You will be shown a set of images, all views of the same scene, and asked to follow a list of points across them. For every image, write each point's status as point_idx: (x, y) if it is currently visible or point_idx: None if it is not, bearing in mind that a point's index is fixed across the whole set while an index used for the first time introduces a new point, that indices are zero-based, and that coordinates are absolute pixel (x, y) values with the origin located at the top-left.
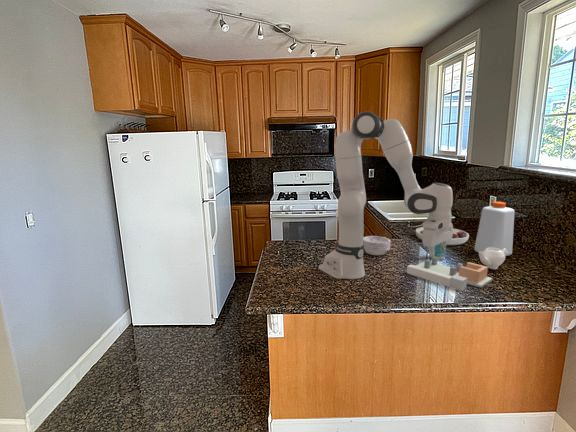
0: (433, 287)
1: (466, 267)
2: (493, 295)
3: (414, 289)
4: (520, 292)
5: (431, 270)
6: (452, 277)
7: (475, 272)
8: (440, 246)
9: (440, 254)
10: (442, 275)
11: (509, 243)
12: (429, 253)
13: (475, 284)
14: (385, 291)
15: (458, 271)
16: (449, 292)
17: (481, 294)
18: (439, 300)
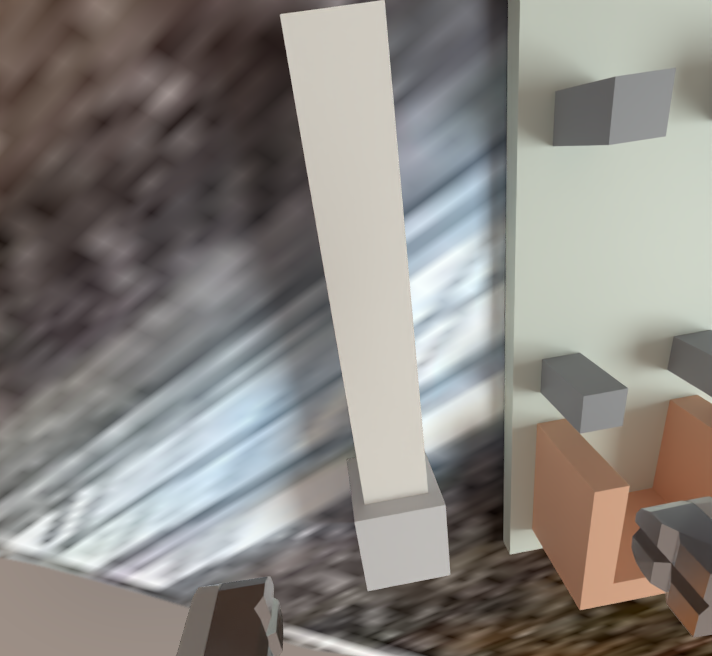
0: (233, 416)
1: (620, 523)
2: (448, 609)
3: (47, 373)
4: (591, 630)
5: (409, 307)
6: (364, 530)
7: (575, 579)
8: (708, 580)
9: None
10: (376, 435)
11: None
12: (191, 614)
13: (508, 524)
14: None
15: (672, 353)
16: (265, 507)
17: (409, 584)
18: (98, 547)
